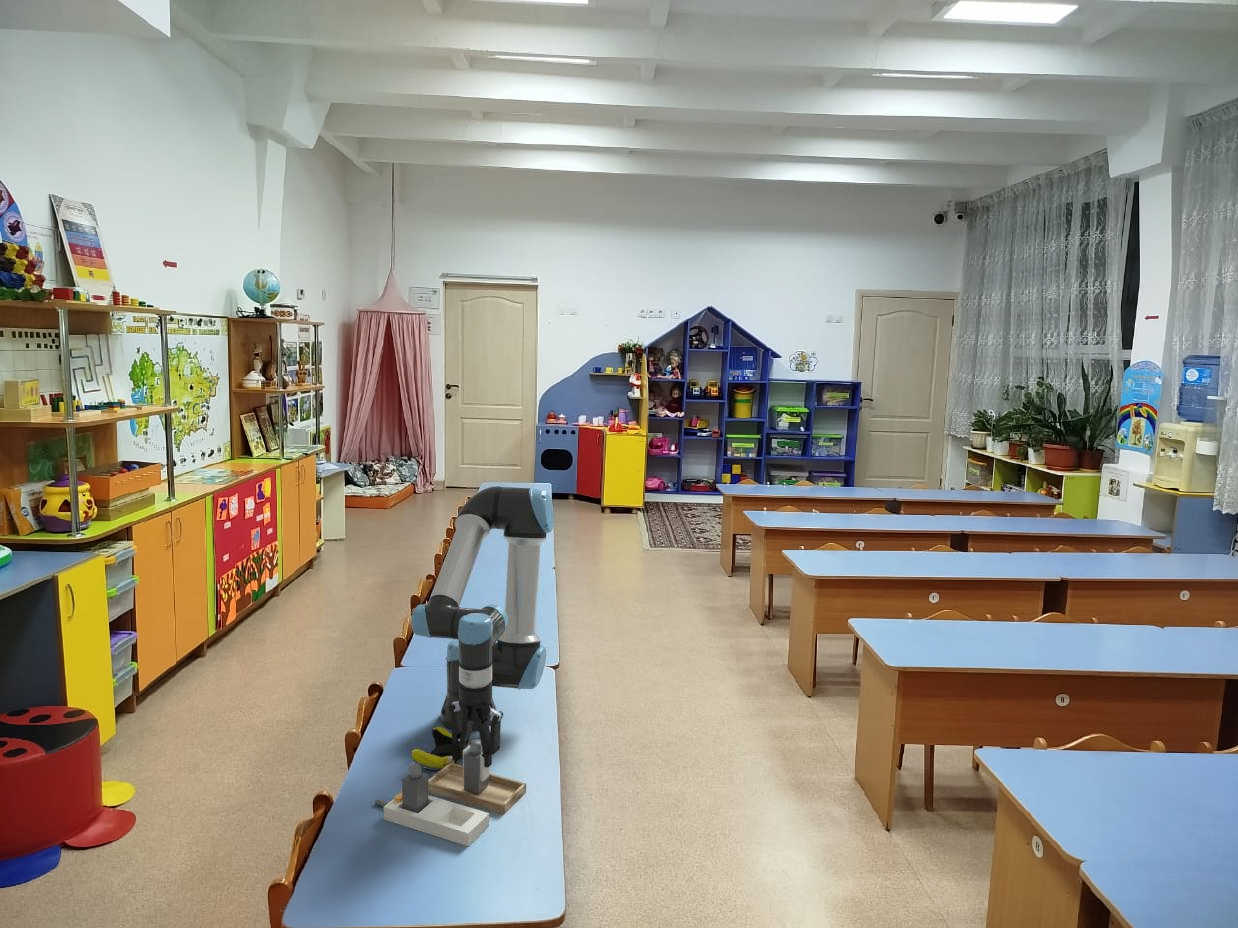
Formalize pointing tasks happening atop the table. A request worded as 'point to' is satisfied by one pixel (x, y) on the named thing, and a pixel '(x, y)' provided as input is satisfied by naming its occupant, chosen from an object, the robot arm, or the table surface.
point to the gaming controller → (438, 751)
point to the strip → (439, 819)
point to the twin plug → (415, 789)
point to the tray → (492, 798)
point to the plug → (473, 768)
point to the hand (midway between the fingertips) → (476, 775)
